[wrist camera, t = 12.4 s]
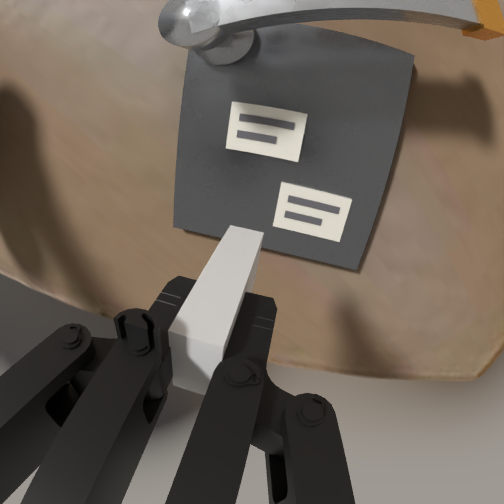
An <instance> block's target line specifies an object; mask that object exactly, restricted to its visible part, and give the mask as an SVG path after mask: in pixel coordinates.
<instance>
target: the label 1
mask: <svg viewBox="0 0 504 504" xmlns="http://www.w3.org/2000/svg"><path fill="white" fill-rule="evenodd" d="M307 115H308V114H305V113H300V112H295V111H290V110H285V109H279V108H274V107H268V106H262V105H255V104H248V103H241V102H232V105H231V112H230V119H229V127H228V134H227V141H226V148H227V149H233V150H239V151H244V152H250V153H255V154H261V155H266V156H271V157H276V158H281V159H286V160H290V161H295V162H298V160H299V155H300V150H301V145H302V140H303V135H304V130H305V125H306V120H307Z"/></svg>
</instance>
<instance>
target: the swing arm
mask: <svg viewBox="0 0 504 504" xmlns="http://www.w3.org/2000/svg"><path fill="white" fill-rule="evenodd" d="M344 19H374V20H395V21H407V22H417V23H425V24H432V25H439V26H445V27H450V28H456V29H461V30H462V34H463V36H468V37H472V38H476V39H481V40H489V39H493V38H497V37H501V36H504V20H503V16H502V13H501V10H500V7H499V4H498V1H497V0H169V1H168V2H167V4H166V5H165V6H164V8H163V9H162V11H161V13H160V16H159V21H158V26H159V31H160V33H161V35H162V37H163V38H164V39H165V40H166V41H168V42H169V43H171V44H174V45H177V46H180V47H183V48H186V49H189V50H192V51H207V50H211V49H213V48H215V47H217V46H219V45H220V44H222V43H223V42H224V41H225V40H226V39H227V37H228V36H229V35H230V34H235V33H239V32H244V31H249V30H254V29H259V28H265V27H271V26H277V25H284V24H292V23H300V22H310V21H323V20H344Z"/></svg>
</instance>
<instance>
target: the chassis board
mask: <svg viewBox="0 0 504 504" xmlns="http://www.w3.org/2000/svg"><path fill="white" fill-rule="evenodd" d="M414 56H415V55H412V54H409V53H407V52H404V51H401V50H399V49H396V48H393V47H390V46H387V45H384V44H381V43H378V42H375V41H371V40H368V39H364V38H361V37H357V36H353V35H350V34H346V33H341V32H337V31H333V30H328V29H323V28H318V27H313V26H307V25H301V24H295V23H292V24H284V25H277V26H271V27H265V28H259V29H254V30H249V31H244V32H239V33H235V34H230V35H229V36H228V37H227V39H226V40H225V41H224V42H223V43H222V44H220V45H219V46H217V47H215V48H213V49H211V50H207V51H192V50H189V52H188V59H187V66H186V73H185V80H184V88H183V96H182V105H181V114H180V124H179V135H178V146H177V160H176V175H175V194H174V221H173V227H176V228H180V229H184V230H189V231H193V232H197V233H202V234H206V235H210V236H214V237H219V238H223V236H224V235H225V233H226V231H227V230H228V228H229V226H230V225H232V226H236V227H241V228H246V229H250V230H255V231H259V232H263V233H264V235H263V240H262V245H261V248H266V249H270V250H274V251H278V252H283V253H287V254H291V255H295V256H299V257H304V258H308V259H312V260H316V261H320V262H324V263H329V264H333V265H337V266H341V267H345V268H349V269H354V270H357V268H358V265H359V262H360V260H361V257H362V254H363V252H364V249H365V246H366V243H367V241H368V238H369V235H370V232H371V229H372V226H373V223H374V220H375V217H376V214H377V211H378V208H379V205H380V202H381V199H382V195H383V192H384V189H385V186H386V182H387V179H388V175H389V172H390V168H391V165H392V161H393V157H394V153H395V149H396V146H397V142H398V138H399V133H400V129H401V125H402V120H403V116H404V111H405V107H406V102H407V97H408V92H409V86H410V81H411V75H412V69H413V62H414ZM232 102H241V103H248V104H255V105H262V106H268V107H274V108H279V109H285V110H290V111H295V112H300V113H305V114H308V115H307V120H306V125H305V130H304V135H303V140H302V145H301V150H300V155H299V160H298V162H295V161H290V160H286V159H281V158H276V157H271V156H266V155H261V154H255V153H250V152H244V151H239V150H233V149H227V148H226V141H227V134H228V127H229V119H230V112H231V105H232ZM281 182H285V183H289V184H294V185H298V186H302V187H307V188H311V189H315V190H319V191H323V192H327V193H331V194H335V195H339V196H343V197H347V198H350V199H352V202H351V205H350V209H349V212H348V216H347V219H346V222H345V226H344V229H343V232H342V235H341V238H340V242H337V241H333V240H329V239H325V238H321V237H317V236H312V235H308V234H304V233H300V232H296V231H291V230H287V229H283V228H279V227H274V226H273V222H274V217H275V212H276V207H277V202H278V197H279V192H280V187H281Z"/></svg>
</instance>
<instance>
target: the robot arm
mask: <svg viewBox="0 0 504 504" xmlns="http://www.w3.org/2000/svg"><path fill="white" fill-rule="evenodd" d="M263 235H264V233H263V232H259V231H255V230H250V229H246V228H241V227H236V226H232V225H230V226H229V228H228V230H227V231H226V233H225V235H224V236H223V238H222V240H221V241H220V243H219V245H218V246H217V248H216V250H215V251H214V253H213V255H212V256H211V258H210V260H209V261H208V263H207V265H206V266H205V268H204V270H203V271H202V273H201V275H200V276H199V278H198V280H193V279H190V278H186V277H182V276H177V277H176V278H174V279H173V280H171V281H169V282H168V283H167V285H166V286H165V287H164V289H163V290H162V293H160V295H159V296H158V297H157V300H156V301H155V302H154V303H153V305H152V306H151V308H150V309H149V310H148V311H147V310H144V309H138V308H135V309H127V310H125V311H122V312H120V313H119V314H118V315H116V316H115V317H114V322H115V326H116V330H117V335H118V338H117V339H107V338H97V337H91V334H90V332H89V331H88V329H87V328H86V327H84V326H82V325H80V324H73V323H72V324H67V325H64V326H62V327H61V328H59V329H57V330H56V331H55V332H54V333H52V334H51V335H50V336H49V337H47V338H46V339H45V340H44V341H42V342H41V343H40V344H39V345H37V346H36V347H35V348H34V349H33V350H31V351H30V352H29V353H27V354H26V355H25V356H24V357H23V358H21V359H20V360H19V361H18V362H17V363H15V364H14V365H13V366H12V367H11V368H10V369H8V370H7V371H6V372H5V373H4V374H2V375H1V376H0V504H2V503H3V502H4V501H5V500H6V499H7V498H8V497H9V496H10V495H11V494H12V493H13V492H14V491H15V490H16V489H17V488H18V487H19V486H20V485H21V484H22V483H23V482H24V481H25V480H26V479H27V478H28V477H29V476H30V475H31V474H32V473H33V472H34V471H35V470H36V469H37V467H39V468H38V470H37V472H36V474H35V476H34V478H33V480H32V482H31V484H30V486H29V488H28V489H27V492H26V494H25V495H24V498H23V500H22V502H21V504H121V503H122V500H123V498H124V496H125V494H126V491H127V489H128V487H129V484H130V482H131V479H132V477H133V475H134V473H135V470H136V468H137V466H138V463H139V461H140V459H141V456H142V454H143V452H144V449H145V447H146V445H147V443H148V440H149V438H150V436H151V434H152V431H153V429H154V427H155V424H156V422H157V420H158V418H159V415H160V413H161V411H162V409H163V406H164V404H165V402H166V400H167V394H168V393H167V387H168V385H169V383H170V381H171V379H172V382H173V386H177V387H180V388H183V389H186V390H189V391H192V392H195V393H199V394H202V395H205V397H204V400H203V402H202V405H201V408H200V410H199V413H198V416H197V419H196V422H195V424H194V427H193V430H192V432H191V435H190V438H189V440H188V443H187V446H186V449H185V452H184V454H183V457H182V460H181V462H180V465H179V468H178V470H177V473H176V476H175V478H174V481H173V484H172V487H171V489H170V492H169V495H168V497H167V500H166V503H165V504H235V503H236V499H237V495H238V491H239V488H240V484H241V480H242V476H243V472H244V468H245V464H246V459H247V455H248V451H249V447H250V444H251V445H253V446H255V447H257V448H259V449H261V450H263V451H264V452H265V458H266V470H267V482H268V495H269V504H355V500H354V495H353V491H352V486H351V480H350V476H349V471H348V467H347V462H346V457H345V453H344V448H343V444H342V439H341V435H340V431H339V427H338V422H337V418H336V414H335V411H334V409H333V407H332V405H331V404H330V403H329V402H328V401H327V400H326V399H325V398H323V397H321V396H319V395H317V394H311V393H304V394H299V395H297V396H293V395H291V394H289V393H287V392H285V391H283V390H282V389H280V388H279V387H277V386H276V385H275V384H274V383H273V382H272V381H271V380H270V378H269V376H268V374H267V370H266V363H267V358H268V353H269V348H270V343H271V338H272V333H273V328H274V323H275V318H276V312H277V307H276V305H275V302H274V299H273V298H270V297H266V296H262V295H257V294H253V293H251V291H252V288H253V285H254V281H255V276H256V271H257V266H258V260H259V255H260V250H261V245H262V240H263ZM40 464H41V465H40ZM39 465H40V466H39Z"/></svg>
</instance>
